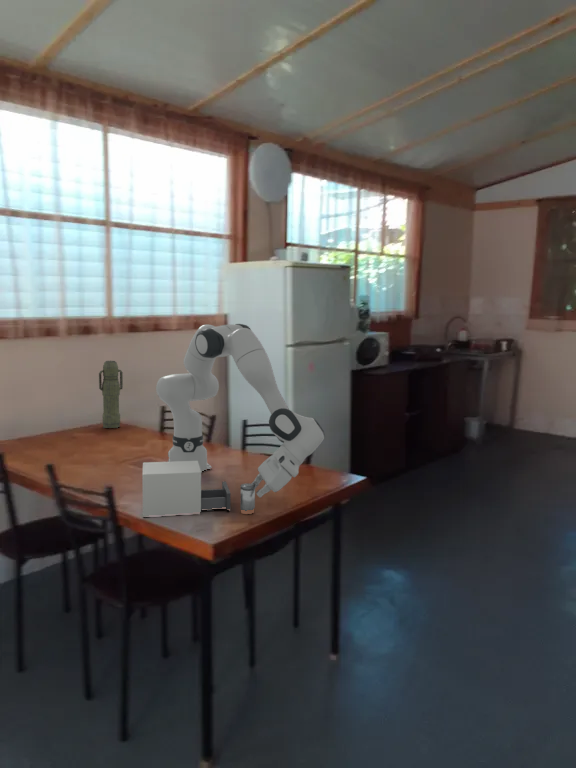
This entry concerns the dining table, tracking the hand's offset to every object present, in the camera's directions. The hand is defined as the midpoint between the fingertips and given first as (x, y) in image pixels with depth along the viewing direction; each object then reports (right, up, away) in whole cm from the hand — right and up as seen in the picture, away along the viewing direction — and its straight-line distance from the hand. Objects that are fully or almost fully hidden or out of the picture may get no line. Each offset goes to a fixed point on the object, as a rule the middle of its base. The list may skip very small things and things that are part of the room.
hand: (255, 490), depth 195 cm
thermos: (-82, +12, +122) cm, 148 cm away
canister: (-3, -7, 0) cm, 8 cm away
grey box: (-28, -6, +2) cm, 28 cm away
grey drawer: (-18, -6, +4) cm, 19 cm away
